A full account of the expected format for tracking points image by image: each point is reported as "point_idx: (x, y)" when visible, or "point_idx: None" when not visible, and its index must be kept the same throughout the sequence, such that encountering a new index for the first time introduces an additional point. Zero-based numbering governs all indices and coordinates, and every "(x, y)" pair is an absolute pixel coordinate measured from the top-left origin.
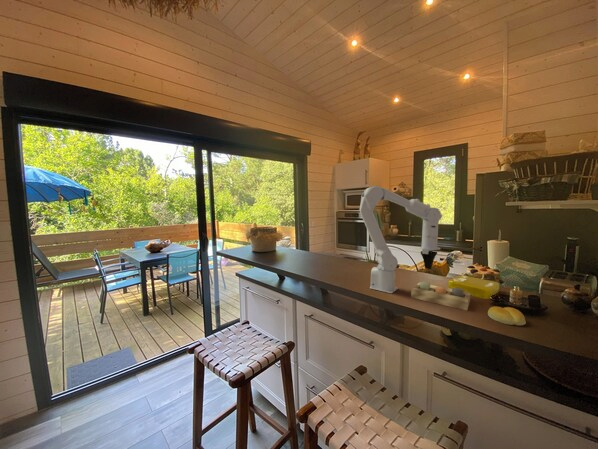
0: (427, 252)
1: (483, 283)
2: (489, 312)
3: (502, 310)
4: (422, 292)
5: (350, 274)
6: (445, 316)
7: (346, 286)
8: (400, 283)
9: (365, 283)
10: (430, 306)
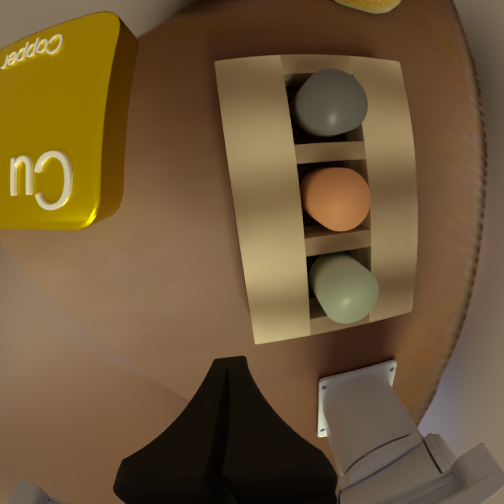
0: (491, 458)
1: (22, 78)
2: (390, 6)
3: None
4: (416, 262)
5: None
6: (474, 140)
7: None
8: None
9: None
10: (436, 201)
